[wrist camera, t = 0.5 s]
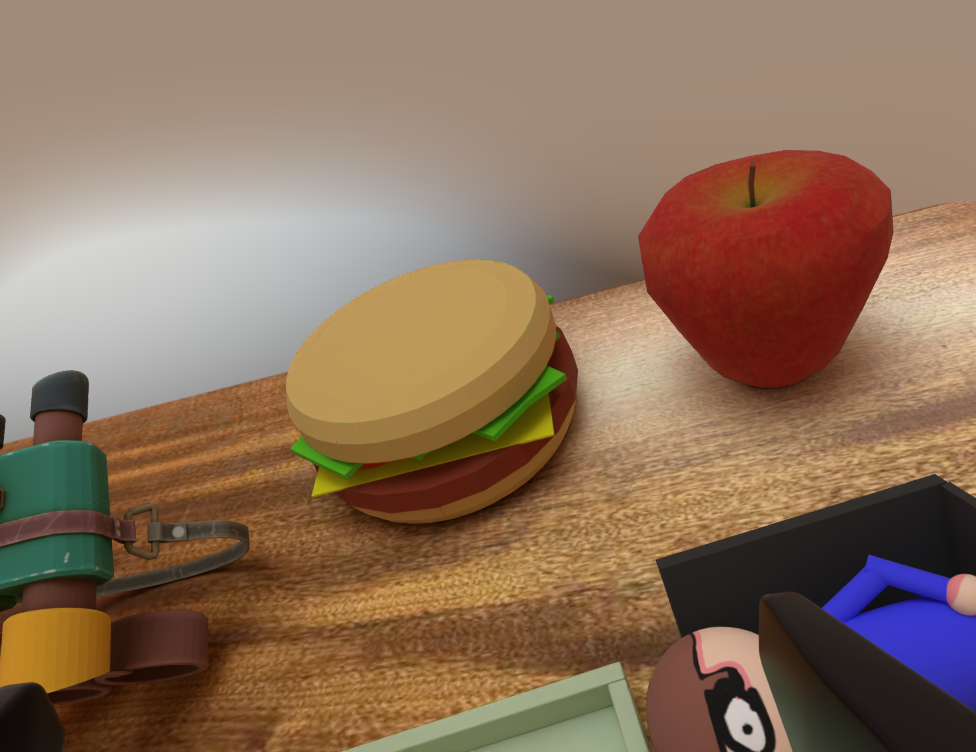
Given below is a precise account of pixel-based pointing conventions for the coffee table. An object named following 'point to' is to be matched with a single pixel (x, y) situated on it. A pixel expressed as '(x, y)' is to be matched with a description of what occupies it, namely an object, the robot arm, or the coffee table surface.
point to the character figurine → (830, 585)
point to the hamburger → (433, 392)
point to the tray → (537, 721)
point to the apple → (768, 260)
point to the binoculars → (86, 564)
